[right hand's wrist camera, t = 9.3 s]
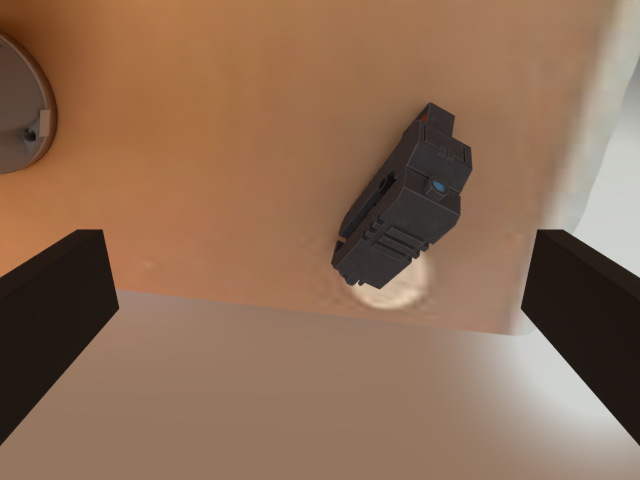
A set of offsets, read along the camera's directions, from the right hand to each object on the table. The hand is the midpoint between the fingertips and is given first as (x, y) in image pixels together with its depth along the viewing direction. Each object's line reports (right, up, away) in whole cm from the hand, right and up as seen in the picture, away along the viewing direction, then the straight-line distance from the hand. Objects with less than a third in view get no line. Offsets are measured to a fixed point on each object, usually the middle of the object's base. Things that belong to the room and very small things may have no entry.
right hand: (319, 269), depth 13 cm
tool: (+7, +6, +34) cm, 36 cm away
